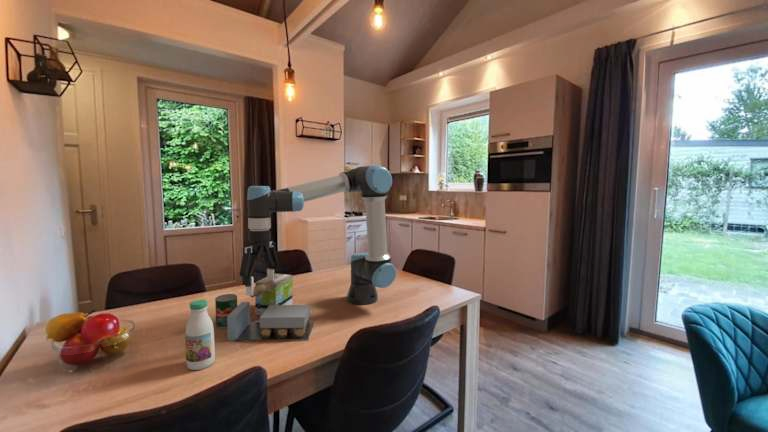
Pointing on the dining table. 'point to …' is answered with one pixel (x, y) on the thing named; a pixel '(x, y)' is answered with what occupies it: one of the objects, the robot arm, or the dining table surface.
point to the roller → (263, 288)
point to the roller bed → (274, 333)
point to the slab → (285, 316)
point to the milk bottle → (199, 337)
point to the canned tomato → (224, 308)
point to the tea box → (274, 293)
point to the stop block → (238, 320)
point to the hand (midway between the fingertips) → (260, 290)
